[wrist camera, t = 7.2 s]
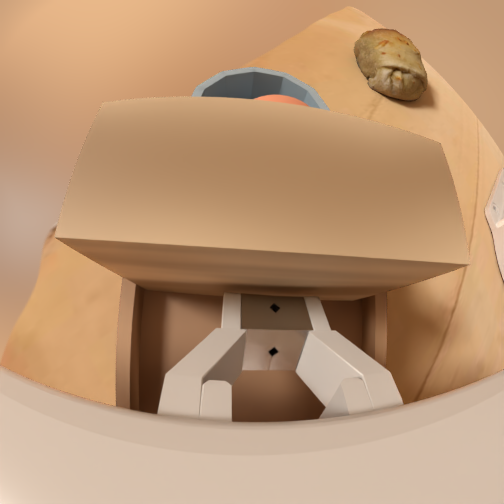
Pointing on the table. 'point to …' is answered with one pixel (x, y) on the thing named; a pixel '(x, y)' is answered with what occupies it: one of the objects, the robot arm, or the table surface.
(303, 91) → the cup
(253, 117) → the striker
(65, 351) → the table surface
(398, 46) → the pastry
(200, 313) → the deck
